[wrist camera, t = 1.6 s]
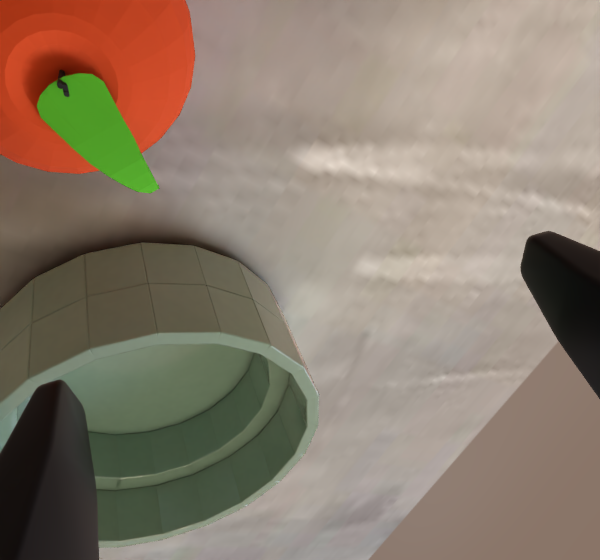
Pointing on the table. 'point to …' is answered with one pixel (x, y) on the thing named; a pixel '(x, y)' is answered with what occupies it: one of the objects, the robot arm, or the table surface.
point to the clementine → (92, 83)
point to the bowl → (164, 382)
